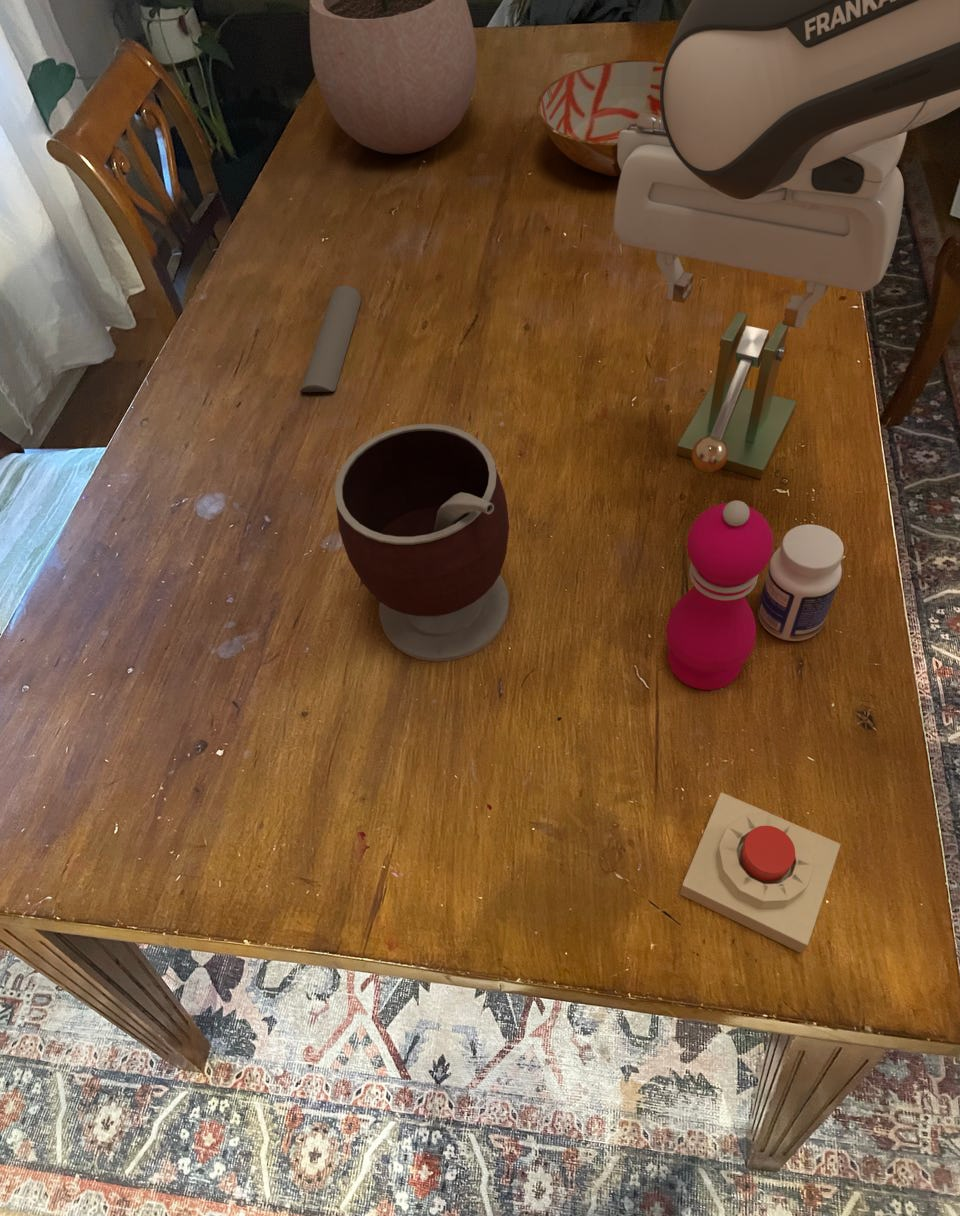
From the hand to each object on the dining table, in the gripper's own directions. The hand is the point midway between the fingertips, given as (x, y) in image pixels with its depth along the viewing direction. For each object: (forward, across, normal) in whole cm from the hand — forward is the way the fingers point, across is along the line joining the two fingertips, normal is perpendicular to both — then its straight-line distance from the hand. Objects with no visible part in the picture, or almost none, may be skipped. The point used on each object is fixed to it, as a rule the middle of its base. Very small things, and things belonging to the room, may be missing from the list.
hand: (735, 310), depth 68 cm
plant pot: (+21, -68, +52) cm, 89 cm away
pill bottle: (+22, +12, -11) cm, 27 cm away
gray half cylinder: (+21, -50, +6) cm, 55 cm away
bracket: (+22, 0, +10) cm, 24 cm away
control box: (+22, +17, -34) cm, 44 cm away
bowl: (+21, -34, +59) cm, 71 cm away
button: (+18, +17, -34) cm, 42 cm away
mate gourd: (+22, -16, -23) cm, 36 cm away
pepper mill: (+22, +7, -18) cm, 29 cm away
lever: (+15, 0, +6) cm, 16 cm away
